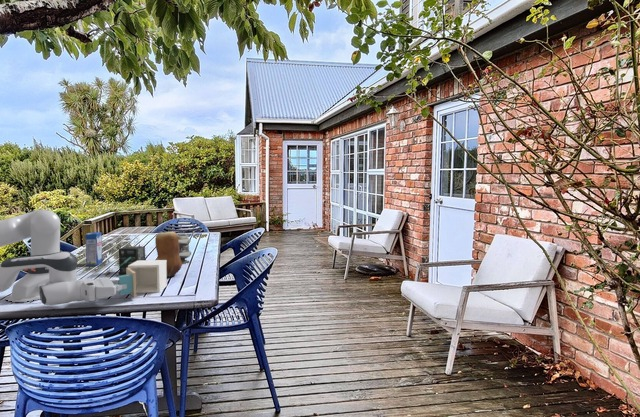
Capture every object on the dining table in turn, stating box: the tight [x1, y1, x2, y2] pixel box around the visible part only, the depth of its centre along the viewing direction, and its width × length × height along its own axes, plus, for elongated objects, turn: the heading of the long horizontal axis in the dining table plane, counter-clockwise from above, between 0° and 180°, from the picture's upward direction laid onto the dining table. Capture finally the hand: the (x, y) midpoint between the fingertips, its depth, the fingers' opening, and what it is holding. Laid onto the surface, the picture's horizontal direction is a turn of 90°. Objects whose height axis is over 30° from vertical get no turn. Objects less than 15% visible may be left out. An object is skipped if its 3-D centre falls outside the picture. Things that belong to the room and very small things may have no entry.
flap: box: [118, 268, 137, 299], centre depth 173 cm, size 6×13×11 cm, turn 39°
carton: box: [128, 259, 168, 294], centre depth 188 cm, size 12×14×13 cm
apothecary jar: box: [177, 234, 192, 265], centre depth 250 cm, size 12×12×18 cm
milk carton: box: [84, 231, 104, 267], centre depth 244 cm, size 10×6×20 cm, turn 13°
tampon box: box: [118, 245, 146, 275], centre depth 224 cm, size 11×9×15 cm
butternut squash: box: [154, 230, 183, 278], centre depth 213 cm, size 14×13×25 cm
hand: (124, 283), depth 170 cm, fingers open, 8 cm apart
